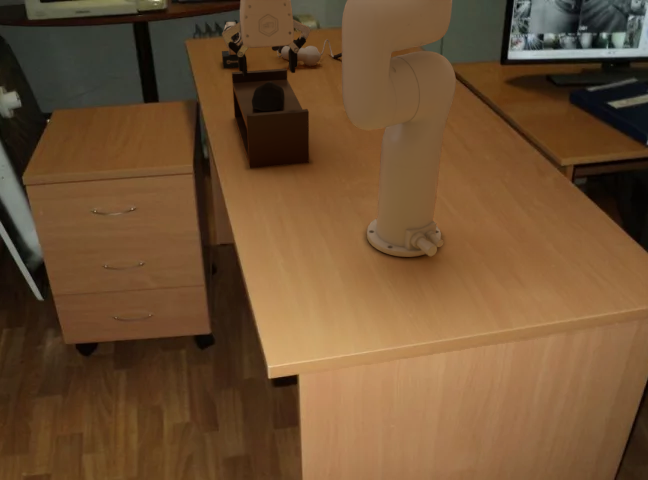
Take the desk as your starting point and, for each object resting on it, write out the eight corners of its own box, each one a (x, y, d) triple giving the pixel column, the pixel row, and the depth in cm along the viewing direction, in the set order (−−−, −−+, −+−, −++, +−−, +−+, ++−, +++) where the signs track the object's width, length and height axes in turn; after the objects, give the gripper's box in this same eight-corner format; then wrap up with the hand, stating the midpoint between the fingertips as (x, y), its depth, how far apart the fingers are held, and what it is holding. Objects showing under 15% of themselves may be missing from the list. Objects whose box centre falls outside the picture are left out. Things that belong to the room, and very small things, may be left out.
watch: (224, 71, 190) (221, 28, 184) (222, 60, 196) (219, 18, 190) (245, 69, 191) (243, 27, 184) (243, 59, 197) (240, 17, 191)
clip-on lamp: (330, 62, 205) (269, 54, 198) (334, 39, 202) (273, 30, 195) (345, 72, 195) (282, 64, 188) (350, 48, 193) (286, 38, 185)
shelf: (308, 162, 148) (308, 111, 141) (249, 168, 145) (246, 116, 139) (287, 115, 167) (286, 68, 161) (234, 119, 165) (231, 72, 158)
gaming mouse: (288, 87, 157) (287, 68, 154) (281, 114, 145) (281, 95, 142) (259, 86, 157) (258, 68, 155) (250, 113, 145) (249, 94, 143)
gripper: (220, -10, 133) (227, 82, 143) (313, -15, 136) (314, 75, 146) (216, -19, 139) (223, 70, 149) (305, -24, 142) (306, 63, 152)
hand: (268, 72), depth 147 cm, fingers open, 9 cm apart
